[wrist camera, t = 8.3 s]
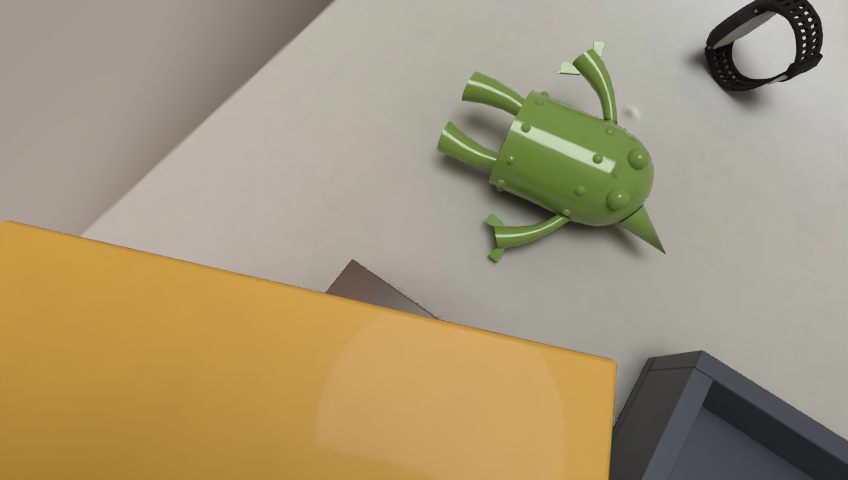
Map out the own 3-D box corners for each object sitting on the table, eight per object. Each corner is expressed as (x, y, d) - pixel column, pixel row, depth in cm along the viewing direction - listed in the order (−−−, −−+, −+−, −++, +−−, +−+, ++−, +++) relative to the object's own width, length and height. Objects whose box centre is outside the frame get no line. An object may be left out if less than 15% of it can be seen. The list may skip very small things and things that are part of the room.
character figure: (506, -28, 18) (788, 77, 17) (506, 26, 24) (722, 111, 22) (394, 216, 20) (643, 339, 18) (416, 218, 25) (613, 313, 23)
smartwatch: (743, 44, 26) (813, -32, 22) (772, 114, 25) (855, 49, 20) (678, 47, 26) (734, -28, 22) (702, 118, 25) (769, 54, 20)
